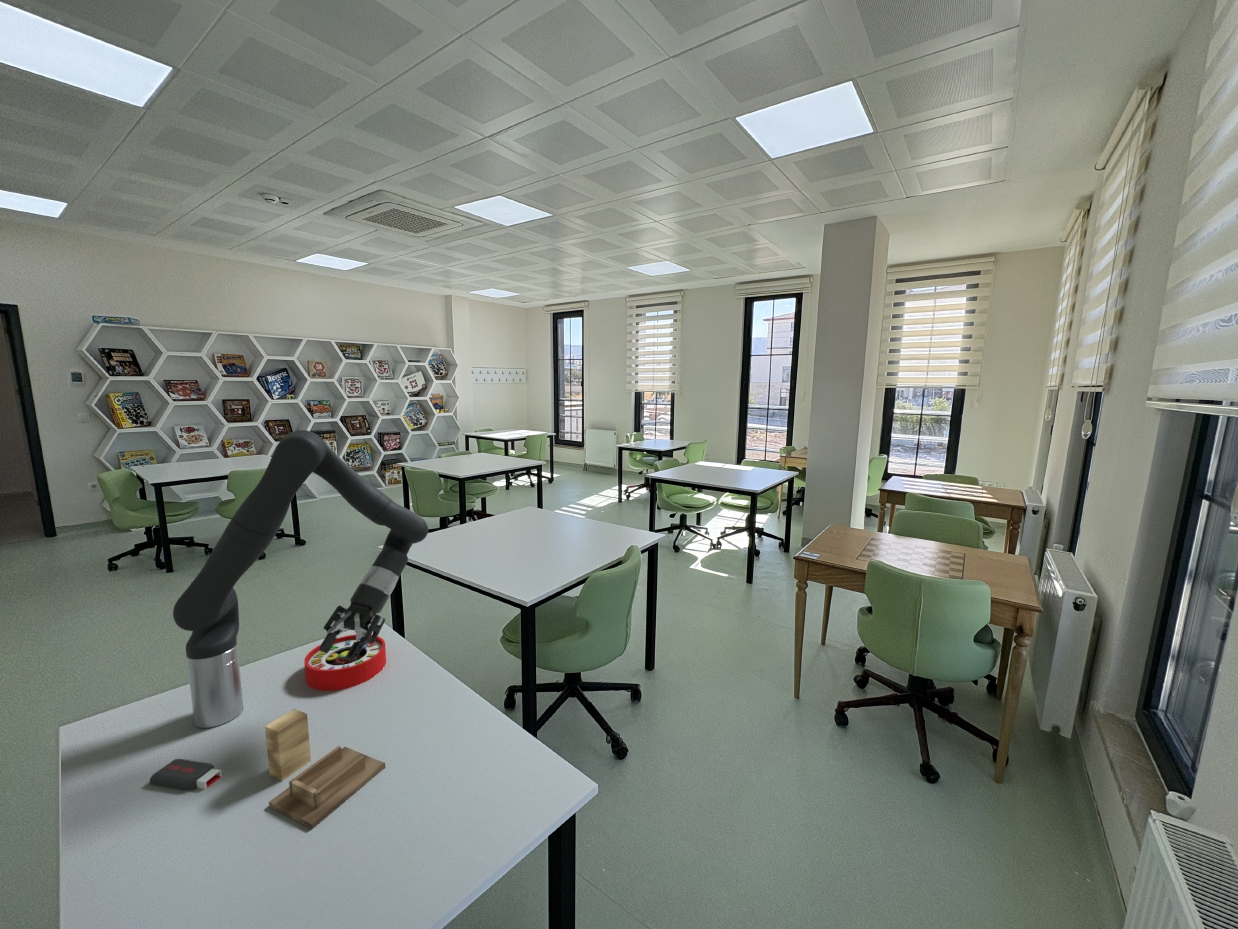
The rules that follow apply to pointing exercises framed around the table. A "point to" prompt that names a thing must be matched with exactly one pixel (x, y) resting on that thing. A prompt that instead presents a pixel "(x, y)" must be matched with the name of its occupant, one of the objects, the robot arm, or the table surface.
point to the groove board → (326, 785)
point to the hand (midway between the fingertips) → (336, 655)
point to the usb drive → (186, 775)
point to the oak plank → (287, 744)
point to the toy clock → (344, 664)
